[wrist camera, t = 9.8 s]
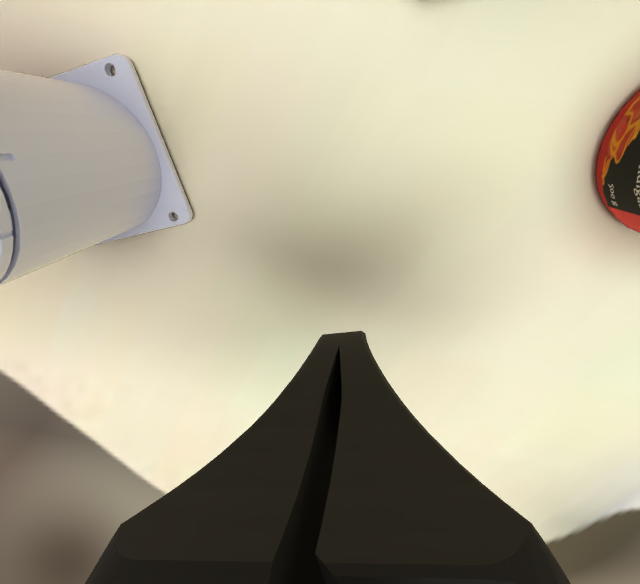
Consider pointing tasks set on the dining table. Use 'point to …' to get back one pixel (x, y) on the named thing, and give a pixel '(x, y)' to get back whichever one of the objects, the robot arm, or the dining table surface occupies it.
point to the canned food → (622, 165)
